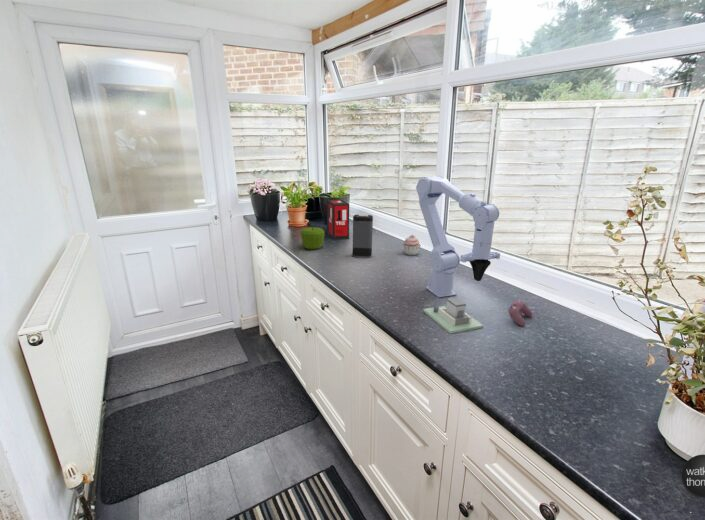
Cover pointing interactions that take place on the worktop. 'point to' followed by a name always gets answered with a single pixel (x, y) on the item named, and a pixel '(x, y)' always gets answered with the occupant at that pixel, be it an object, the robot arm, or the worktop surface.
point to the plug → (455, 308)
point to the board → (452, 320)
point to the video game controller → (519, 312)
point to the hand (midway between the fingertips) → (477, 279)
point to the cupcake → (411, 245)
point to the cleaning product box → (338, 219)
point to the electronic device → (362, 236)
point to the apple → (312, 237)
